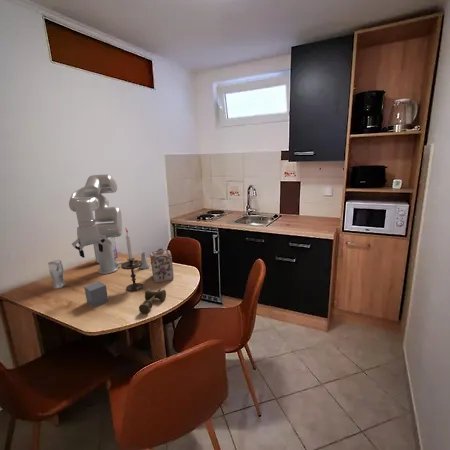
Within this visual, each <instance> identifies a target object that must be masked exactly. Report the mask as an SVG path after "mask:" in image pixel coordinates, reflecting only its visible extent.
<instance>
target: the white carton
mask: <svg viewBox="0 0 450 450" xmlns="http://www.w3.org/2000/svg"><path fill="white" fill-rule="evenodd" d="M115 238H116V237H112V238H108V239H109V240H110V241H111V242H112V245H113V251H114V258H115V260H116V259H117V258H119V256H118V251H117V245H116V239H115ZM92 246H93V251H94V256H95V263H97V264H99V259H98V253H97V247H96V243H95V244H92Z"/></svg>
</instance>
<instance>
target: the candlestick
mask: <svg viewBox="0 0 450 450" xmlns="http://www.w3.org/2000/svg"><path fill="white" fill-rule="evenodd" d="M125 232H126V235H125V240H126V246H127V247H126V248H127V254H128V258H127V259H126V261H125V262H123V264H120V269H122V270H128V271H129V270H131V271H130V272H131V274H130V278H131V282H132V283H131V284H128V285H127V286H126V287H125V288H126V289H125V290H126V291H127V292H130V293H133V292H134V291H135V292H138V290H139V291H141V290H142V289H144V285H143V283H142V282H136V280H137V279H136V276H137V274H135V271H134V270H135V269H137V268H139V267H140V266H141V265H142V262H141V260H139V259H138V260H137V259H136V258H135V257H133V251H132V250H133V249H132V245H131V244H132V243H131V237H130V235H129V233H128V232H129V231H128V229H127V228H126V227H125ZM140 289H141V290H140ZM135 292H134V293H135Z"/></svg>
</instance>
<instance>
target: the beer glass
mask: <svg viewBox="0 0 450 450" xmlns="http://www.w3.org/2000/svg"><path fill="white" fill-rule="evenodd" d="M47 266H48V267H47V268H48V272H49V275H50V277H51V279H52V282H53V283H52V284H53V289H55V290H56V289H57V290H59V289H62V288H65V287H66V283H65V280H64V279H65V278H64V266H63V263H62V260H60V259H57V260H52V261H50V262H48V263H47Z"/></svg>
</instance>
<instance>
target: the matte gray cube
mask: <svg viewBox="0 0 450 450" xmlns="http://www.w3.org/2000/svg"><path fill="white" fill-rule="evenodd" d="M83 289H84V295H85V298H86V303H87V304H88V305H89V306H91V307H92V308H95V307H98V306H100V305H102V304H105V303H108V302H109V297H108V295H109V294H108V290H107V285H106V284H105V283H103V282H101V281H96V282H93V283H91V284H87V285H84V287H83Z"/></svg>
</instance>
